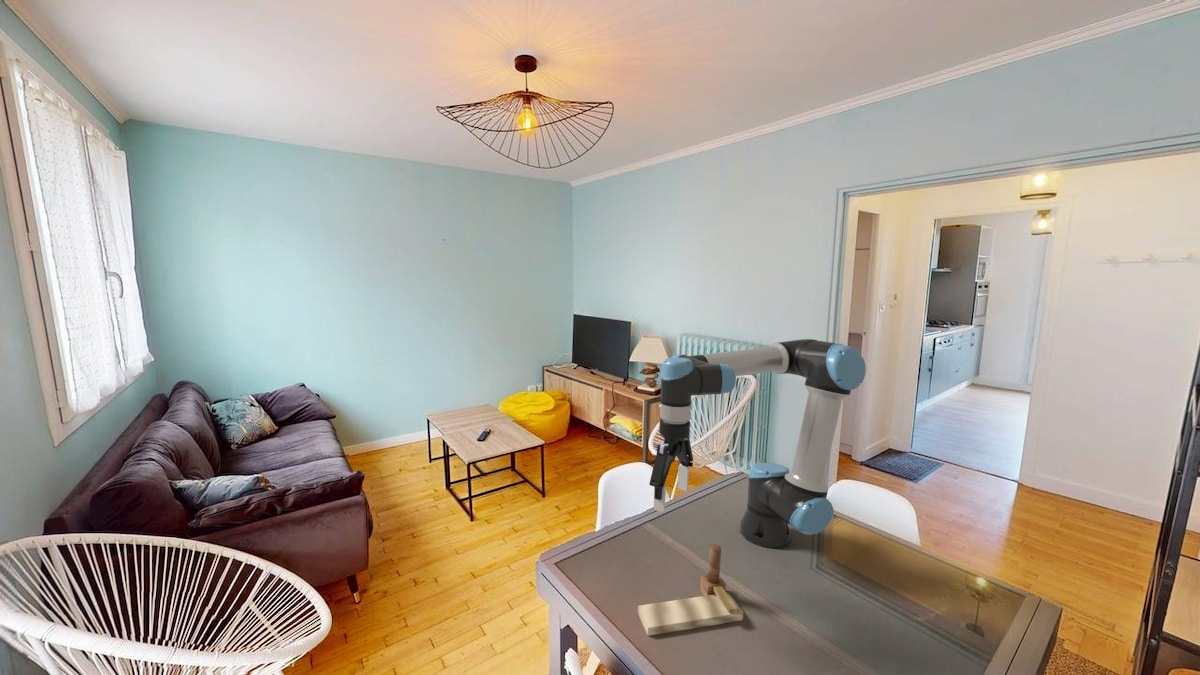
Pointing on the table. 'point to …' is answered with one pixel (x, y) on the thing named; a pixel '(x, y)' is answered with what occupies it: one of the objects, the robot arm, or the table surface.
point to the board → (686, 614)
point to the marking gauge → (716, 580)
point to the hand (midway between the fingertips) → (671, 499)
